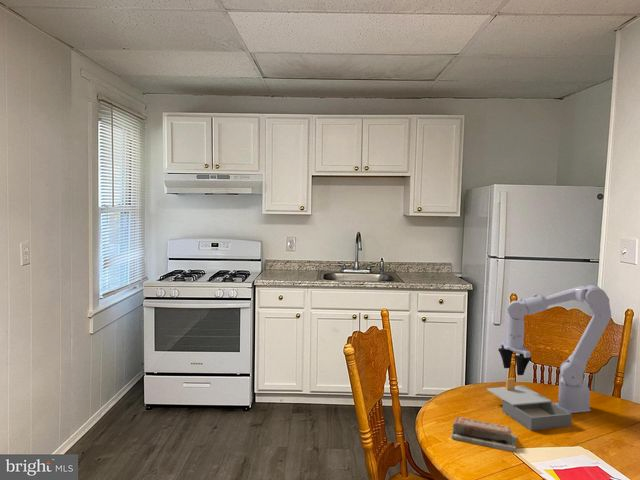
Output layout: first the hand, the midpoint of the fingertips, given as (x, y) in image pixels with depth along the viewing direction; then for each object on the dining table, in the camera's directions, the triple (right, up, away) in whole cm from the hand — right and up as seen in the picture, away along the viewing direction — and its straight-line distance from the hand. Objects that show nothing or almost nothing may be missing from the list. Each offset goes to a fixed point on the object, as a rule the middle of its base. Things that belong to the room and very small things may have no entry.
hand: (513, 371), depth 171 cm
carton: (+1, -11, -16) cm, 19 cm away
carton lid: (-1, -7, -7) cm, 10 cm away
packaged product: (-21, -12, -30) cm, 39 cm away
